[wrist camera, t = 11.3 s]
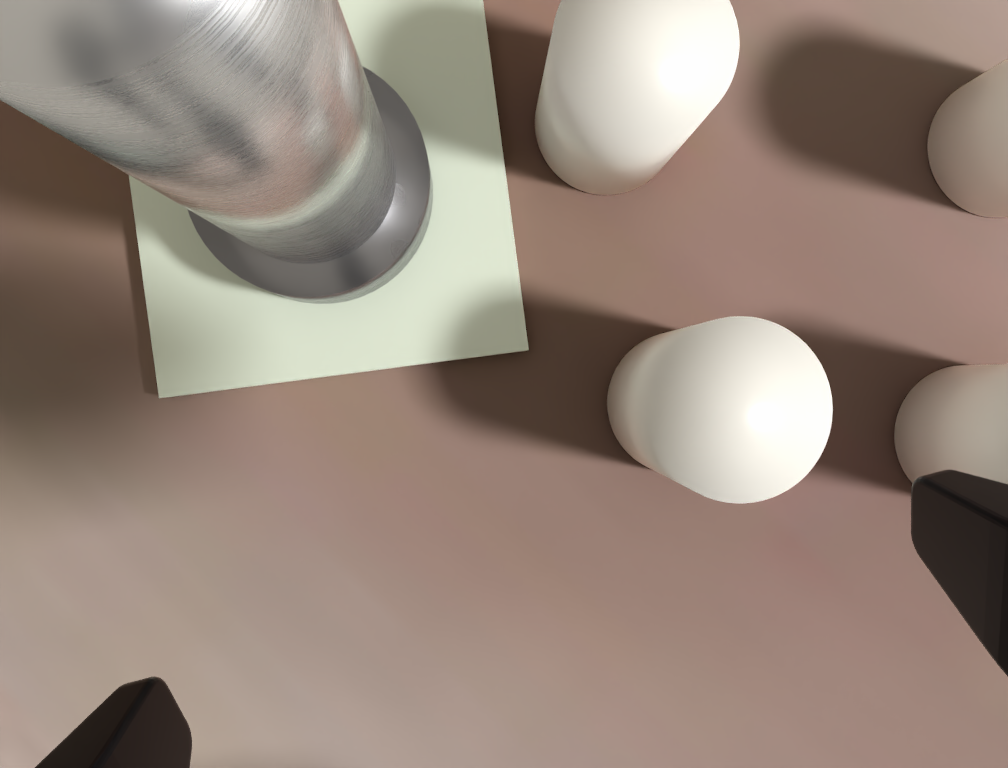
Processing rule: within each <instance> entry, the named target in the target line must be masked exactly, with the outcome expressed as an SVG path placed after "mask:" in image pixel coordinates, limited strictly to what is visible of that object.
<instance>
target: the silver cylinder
mask: <svg viewBox="0 0 1008 768" xmlns="http://www.w3.org/2000/svg"><path fill="white" fill-rule="evenodd" d="M0 100H1V101H3V102H5V103H6V104H8V105H10V106H12V107H13V108H15V109H17V110H18V111H20V112H22V113H24V114H25V115H27V116H29V117H30V118H32V119H34V120H36V121H37V122H39V123H41V124H42V125H44V126H46V127H48V128H49V129H51V130H53V131H55V132H56V133H58V134H60V135H61V136H63V137H65V138H67V139H68V140H70V141H72V142H73V143H75V144H77V145H79V146H80V147H82V148H84V149H85V150H87V151H89V152H91V153H92V154H94V155H96V156H97V157H99V158H101V159H103V160H104V161H106V162H108V163H109V164H111V165H113V166H115V167H116V168H118V169H120V170H121V171H123V172H125V173H127V174H128V175H130V176H132V177H133V178H135V179H137V180H139V181H140V182H142V183H144V184H145V185H147V186H149V187H151V188H152V189H154V190H156V191H157V192H159V193H161V194H163V195H164V196H166V197H168V198H169V199H171V200H173V201H175V202H176V203H178V204H180V205H181V206H183V207H185V208H187V209H188V212H189V216H190V218H191V220H192V222H193V225H194V227H195V229H196V231H197V233H198V234H199V236H200V237H201V239H202V241H203V242H204V244H205V245H206V246H207V248H208V249H209V250H210V251H211V253H212V254H213V255H214V256H215V257H216V258H217V259H218V260H219V261H220V262H221V263H222V264H223V265H224V266H225V267H226V268H228V269H229V270H230V271H232V272H233V273H234V274H236V275H237V276H239V277H240V278H242V279H244V280H246V281H247V282H249V283H251V284H253V285H255V286H257V287H260V288H262V289H264V290H267V291H269V292H272V293H274V294H277V295H279V296H282V297H285V298H287V299H291V300H295V301H299V302H303V303H313V304H333V303H339V302H346V301H350V300H353V299H356V298H360V297H362V296H365V295H367V294H369V293H371V292H374V291H375V290H377V289H379V288H380V287H382V286H384V285H385V284H387V283H388V282H389V281H390V280H392V279H393V278H394V277H395V276H397V275H398V274H399V273H400V272H401V271H402V270H403V269H404V267H405V266H406V265H407V264H408V263H409V262H410V260H411V259H412V258H413V256H414V255H415V253H416V252H417V250H418V248H419V246H420V244H421V243H422V241H423V239H424V236H425V233H426V231H427V228H428V225H429V221H430V217H431V213H432V203H433V182H432V176H431V170H430V165H429V160H428V156H427V151H426V147H425V144H424V140H423V137H422V134H421V131H420V129H419V127H418V124H417V122H416V120H415V118H414V116H413V115H412V113H411V111H410V110H409V108H408V106H407V105H406V103H405V102H404V101H403V100H402V98H401V97H400V96H399V95H398V94H397V92H396V91H395V90H394V89H393V88H392V87H391V86H390V85H388V84H387V83H386V82H385V81H384V80H383V79H382V78H380V77H379V76H377V75H376V74H375V73H373V72H372V71H370V70H369V69H367V68H365V67H363V66H362V64H361V62H360V59H359V56H358V54H357V51H356V48H355V45H354V43H353V40H352V37H351V35H350V32H349V29H348V26H347V24H346V21H345V18H344V15H343V13H342V10H341V7H340V5H339V2H338V0H0Z"/></svg>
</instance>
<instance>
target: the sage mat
mask: <svg viewBox="0 0 1008 768" xmlns="http://www.w3.org/2000/svg"><path fill="white" fill-rule="evenodd" d="M338 2H339V5H340V7H341V10H342V13H343V15H344V18H345V21H346V24H347V26H348V29H349V32H350V35H351V37H352V40H353V43H354V45H355V48H356V51H357V54H358V56H359V59H360V62H361V64H362V66H363V67H365V68H367V69H369V70H370V71H372V72H373V73H375V74H376V75H377V76H379V77H380V78H382V79H383V80H384V81H385V82H386V83H387V84H388V85H390V86H391V87H392V88H393V89H394V90H395V91H396V92H397V94H398V95H399V96H400V97H401V98H402V100H403V101H404V102H405V103H406V105H407V106H408V108H409V110H410V111H411V113H412V115H413V116H414V118H415V120H416V122H417V124H418V127H419V129H420V131H421V134H422V137H423V140H424V144H425V147H426V151H427V156H428V160H429V165H430V170H431V176H432V182H433V203H432V213H431V217H430V221H429V225H428V228H427V231H426V233H425V236H424V239H423V241H422V243H421V244H420V246H419V248H418V250H417V252H416V253H415V255H414V256H413V258H412V259H411V260H410V262H409V263H408V264H407V265H406V266H405V267H404V269H403V270H402V271H401V272H400V273H399V274H398V275H397V276H395V277H394V278H393V279H392V280H390V281H389V282H388V283H387V284H385V285H384V286H382V287H380V288H379V289H377V290H375V291H374V292H371V293H369V294H367V295H365V296H362V297H360V298H356V299H353V300H350V301H346V302H339V303H333V304H313V303H303V302H299V301H295V300H291V299H287V298H285V297H282V296H279V295H277V294H274V293H272V292H269V291H267V290H264V289H262V288H260V287H257V286H255V285H253V284H251V283H249V282H247V281H246V280H244V279H242V278H240V277H239V276H237V275H236V274H234V273H233V272H232V271H230V270H229V269H228V268H226V267H225V266H224V265H223V264H222V263H221V262H220V261H219V260H218V259H217V258H216V257H215V256H214V255H213V254H212V253H211V251H210V250H209V249H208V248H207V246H206V245H205V244H204V242H203V241H202V239H201V237H200V236H199V234H198V233H197V231H196V229H195V227H194V225H193V222H192V220H191V218H190V216H189V212H188V209H187V208H185V207H183V206H181V205H180V204H178V203H176V202H175V201H173V200H171V199H169V198H168V197H166V196H164V195H163V194H161V193H159V192H157V191H156V190H154V189H152V188H151V187H149V186H147V185H145V184H144V183H142V182H140V181H139V180H137V179H135V178H133V177H132V176H130V175H129V181H130V188H131V196H132V203H133V210H134V218H135V225H136V232H137V240H138V247H139V255H140V262H141V269H142V277H143V284H144V291H145V299H146V306H147V313H148V321H149V328H150V336H151V343H152V350H153V358H154V365H155V372H156V380H157V387H158V394H159V398H168V397H176V396H183V395H191V394H199V393H206V392H214V391H222V390H229V389H237V388H245V387H252V386H260V385H268V384H275V383H283V382H291V381H298V380H306V379H314V378H321V377H329V376H337V375H344V374H352V373H360V372H367V371H375V370H383V369H390V368H398V367H406V366H413V365H421V364H429V363H436V362H444V361H452V360H459V359H467V358H475V357H482V356H490V355H498V354H505V353H513V352H521V351H528V350H529V348H528V340H527V332H526V325H525V317H524V309H523V302H522V294H521V287H520V279H519V271H518V264H517V256H516V248H515V241H514V233H513V226H512V218H511V210H510V203H509V195H508V187H507V180H506V172H505V165H504V157H503V149H502V142H501V134H500V126H499V119H498V111H497V104H496V96H495V88H494V81H493V73H492V65H491V58H490V50H489V43H488V35H487V27H486V20H485V12H484V4H483V0H338Z"/></svg>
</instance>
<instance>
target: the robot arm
mask: <svg viewBox="0 0 1008 768" xmlns="http://www.w3.org/2000/svg"><path fill="white" fill-rule="evenodd" d="M911 536H912V541H913V544H914V547H915V549H916V551H917V553H918V555H919V556H920V558H921V559H922V561H923V562H924V564H925V565H926V566H927V568H928V569H929V570H930V572H931V573H932V575H933V576H934V577H935V579H936V580H937V582H938V583H939V584H940V586H941V587H942V589H943V590H944V591H945V593H946V594H947V596H948V597H949V598H950V600H951V601H952V603H953V604H954V605H955V607H956V608H957V609H958V611H959V612H960V614H961V615H962V616H963V618H964V619H965V621H966V622H967V623H968V625H969V626H970V628H971V629H972V630H973V632H974V633H975V635H976V636H977V637H978V639H979V640H980V642H981V643H982V644H983V646H984V647H985V648H986V650H987V651H988V652H989V654H990V655H991V656H992V658H993V659H994V660H995V661H996V663H997V664H998V665H999V666H1000V668H1001V669H1002V670H1003V671H1004V672H1005V674H1006V675H1007V676H1008V484H1005V483H1002V482H998V481H994V480H990V479H987V478H983V477H979V476H975V475H971V474H968V473H964V472H960V471H956V470H942V471H938V472H935V473H931V474H927V475H923V476H920V477H918V478H917V479H915V481H914V482H913V484H912V489H911ZM191 751H192V737H191V732H190V728H189V725H188V723H187V721H186V719H185V717H184V716H183V714H182V712H181V710H180V708H179V706H178V705H177V703H176V701H175V699H174V697H173V695H172V693H171V692H170V690H169V688H168V686H167V685H166V683H165V682H164V681H163V680H162V679H161V678H159V677H149V678H146V679H142V680H138V681H134V682H130V683H127V684H124V685H122V686H120V687H119V688H118V689H116V690H115V691H114V692H113V693H112V694H111V695H110V696H109V697H108V698H107V699H106V700H105V701H104V702H103V703H102V704H101V705H100V706H99V707H98V708H97V709H96V710H95V711H94V712H92V713H91V714H90V715H89V716H88V717H87V718H86V719H85V720H84V721H83V722H82V723H81V724H80V725H79V726H78V727H77V728H76V729H75V730H74V731H73V732H72V733H71V734H70V735H68V736H67V737H66V738H65V739H64V740H63V741H62V742H61V743H60V744H59V745H58V746H57V747H56V748H55V749H54V750H53V751H52V752H51V753H50V754H49V755H48V756H47V757H46V758H44V759H43V760H42V761H41V762H40V763H39V764H38V765H37V766H36V767H35V768H190V759H191Z"/></svg>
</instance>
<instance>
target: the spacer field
mask: <svg viewBox="0 0 1008 768" xmlns="http://www.w3.org/2000/svg"><path fill="white" fill-rule="evenodd" d="M738 57H739V30H738V25H737V20H736V17H735V14H734V11H733V8H732V6H731V3H730V1H729V0H561V2H560V4H559V7H558V10H557V13H556V16H555V21H554V26H553V30H552V35H551V40H550V45H549V49H548V54H547V59H546V64H545V68H544V73H543V78H542V83H541V87H540V92H539V97H538V102H537V107H536V112H535V134H536V139H537V143H538V146H539V149H540V152H541V154H542V156H543V158H544V160H545V161H546V163H547V164H548V166H549V167H550V168H551V169H552V171H553V172H554V173H555V174H556V175H557V176H558V177H559V178H561V179H562V180H563V181H564V182H566V183H567V184H569V185H570V186H572V187H574V188H576V189H578V190H581V191H584V192H587V193H591V194H596V195H617V194H622V193H626V192H629V191H632V190H635V189H637V188H639V187H641V186H642V185H644V184H645V183H647V182H648V181H650V180H651V179H652V178H653V177H654V176H655V175H656V174H657V173H658V172H659V171H660V170H661V169H662V168H663V166H664V165H665V164H666V163H667V162H668V161H669V160H670V158H671V157H672V156H673V155H674V154H675V153H676V151H677V150H678V149H679V148H680V147H681V146H682V144H683V143H684V142H685V141H686V140H687V139H688V138H689V136H690V135H691V134H692V133H693V132H694V131H695V129H696V128H697V127H698V126H699V125H700V124H701V122H702V121H703V120H704V119H705V118H706V117H707V115H708V114H709V113H710V112H711V111H712V110H713V109H714V107H715V106H716V105H717V104H718V103H719V102H720V100H721V99H722V97H723V96H724V94H725V93H726V91H727V90H728V88H729V86H730V83H731V81H732V79H733V76H734V73H735V70H736V67H737V62H738ZM927 148H928V159H929V164H930V168H931V171H932V174H933V176H934V178H935V180H936V182H937V184H938V185H939V187H940V188H941V190H942V191H943V192H944V193H945V195H946V196H947V197H948V198H949V199H950V200H951V201H952V202H954V203H955V204H956V205H958V206H959V207H961V208H962V209H964V210H966V211H968V212H970V213H973V214H976V215H978V216H983V217H989V218H1004V217H1008V59H1006V60H1004V61H1003V62H1001V63H999V64H998V65H996V66H994V67H993V68H991V69H989V70H988V71H986V72H985V73H983V74H981V75H980V76H978V77H976V78H975V79H973V80H971V81H970V82H968V83H966V84H965V85H963V86H962V87H960V88H959V89H957V90H956V91H954V92H953V93H952V94H951V95H950V96H949V97H948V98H947V99H946V100H945V101H944V102H943V103H942V105H941V106H940V108H939V109H938V111H937V112H936V114H935V116H934V118H933V121H932V124H931V127H930V130H929V135H928V145H927ZM607 411H608V417H609V422H610V425H611V428H612V430H613V433H614V435H615V437H616V439H617V440H618V442H619V443H620V445H621V446H622V447H623V448H624V450H625V451H626V452H627V453H628V454H629V455H630V456H631V457H632V458H634V459H635V460H636V461H638V462H639V463H641V464H642V465H644V466H646V467H648V468H650V469H652V470H654V471H656V472H658V473H660V474H662V475H664V476H666V477H667V478H669V479H671V480H673V481H675V482H677V483H679V484H681V485H683V486H685V487H687V488H689V489H691V490H693V491H695V492H697V493H699V494H701V495H703V496H705V497H708V498H711V499H714V500H717V501H722V502H727V503H753V502H758V501H763V500H766V499H769V498H772V497H775V496H777V495H779V494H781V493H783V492H785V491H787V490H788V489H790V488H791V487H793V486H794V485H796V484H797V483H798V482H799V481H800V480H802V479H803V478H804V477H805V476H806V475H807V474H808V473H809V471H810V470H811V469H812V468H813V467H814V465H815V464H816V462H817V461H818V459H819V458H820V456H821V454H822V452H823V450H824V448H825V446H826V443H827V440H828V437H829V434H830V429H831V424H832V414H833V405H832V395H831V390H830V385H829V382H828V379H827V376H826V373H825V371H824V369H823V367H822V365H821V363H820V362H819V360H818V358H817V357H816V355H815V354H814V353H813V351H812V350H811V349H810V348H809V347H808V346H807V344H806V343H805V342H803V341H802V340H801V339H800V338H799V337H798V336H797V335H795V334H794V333H792V332H791V331H789V330H788V329H786V328H784V327H782V326H780V325H778V324H776V323H773V322H771V321H768V320H765V319H760V318H755V317H745V316H736V317H726V318H721V319H716V320H712V321H708V322H704V323H700V324H697V325H693V326H689V327H685V328H681V329H677V330H673V331H669V332H665V333H661V334H658V335H655V336H652V337H650V338H648V339H646V340H644V341H642V342H640V343H639V344H637V345H636V346H635V347H633V348H632V349H631V350H630V351H629V352H628V353H627V354H626V355H625V356H624V357H623V358H622V360H621V361H620V363H619V364H618V366H617V367H616V369H615V371H614V373H613V375H612V378H611V381H610V384H609V389H608V395H607ZM894 441H895V449H896V454H897V457H898V460H899V463H900V465H901V467H902V469H903V471H904V473H905V474H906V476H907V477H908V479H909V480H910V481H911V482H912V483H913V482H914V481H915V479H917V478H918V477H920V476H923V475H927V474H931V473H935V472H938V471H942V470H956V471H960V472H964V473H968V474H971V475H975V476H979V477H983V478H987V479H990V480H994V481H998V482H1002V483H1005V484H1008V364H988V365H960V366H951V367H946V368H943V369H940V370H937V371H935V372H933V373H931V374H929V375H928V376H926V377H925V378H923V379H922V380H921V381H919V382H918V383H917V384H916V385H915V386H914V387H913V388H912V389H911V391H910V392H909V393H908V394H907V396H906V397H905V399H904V400H903V403H902V405H901V407H900V409H899V412H898V415H897V418H896V423H895V431H894Z"/></svg>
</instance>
